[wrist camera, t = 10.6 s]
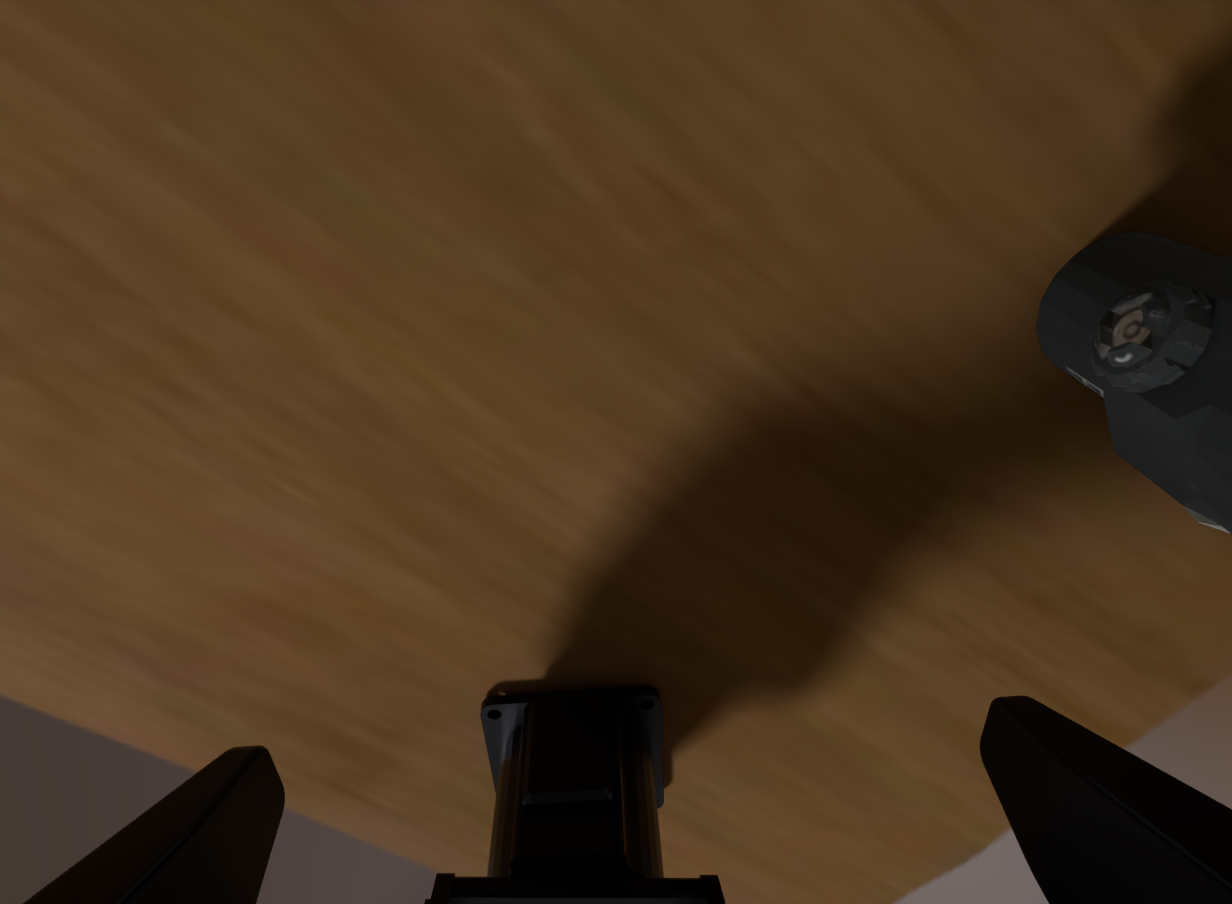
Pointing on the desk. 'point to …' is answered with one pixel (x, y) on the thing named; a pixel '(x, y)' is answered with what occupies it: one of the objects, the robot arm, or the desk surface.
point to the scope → (1153, 359)
